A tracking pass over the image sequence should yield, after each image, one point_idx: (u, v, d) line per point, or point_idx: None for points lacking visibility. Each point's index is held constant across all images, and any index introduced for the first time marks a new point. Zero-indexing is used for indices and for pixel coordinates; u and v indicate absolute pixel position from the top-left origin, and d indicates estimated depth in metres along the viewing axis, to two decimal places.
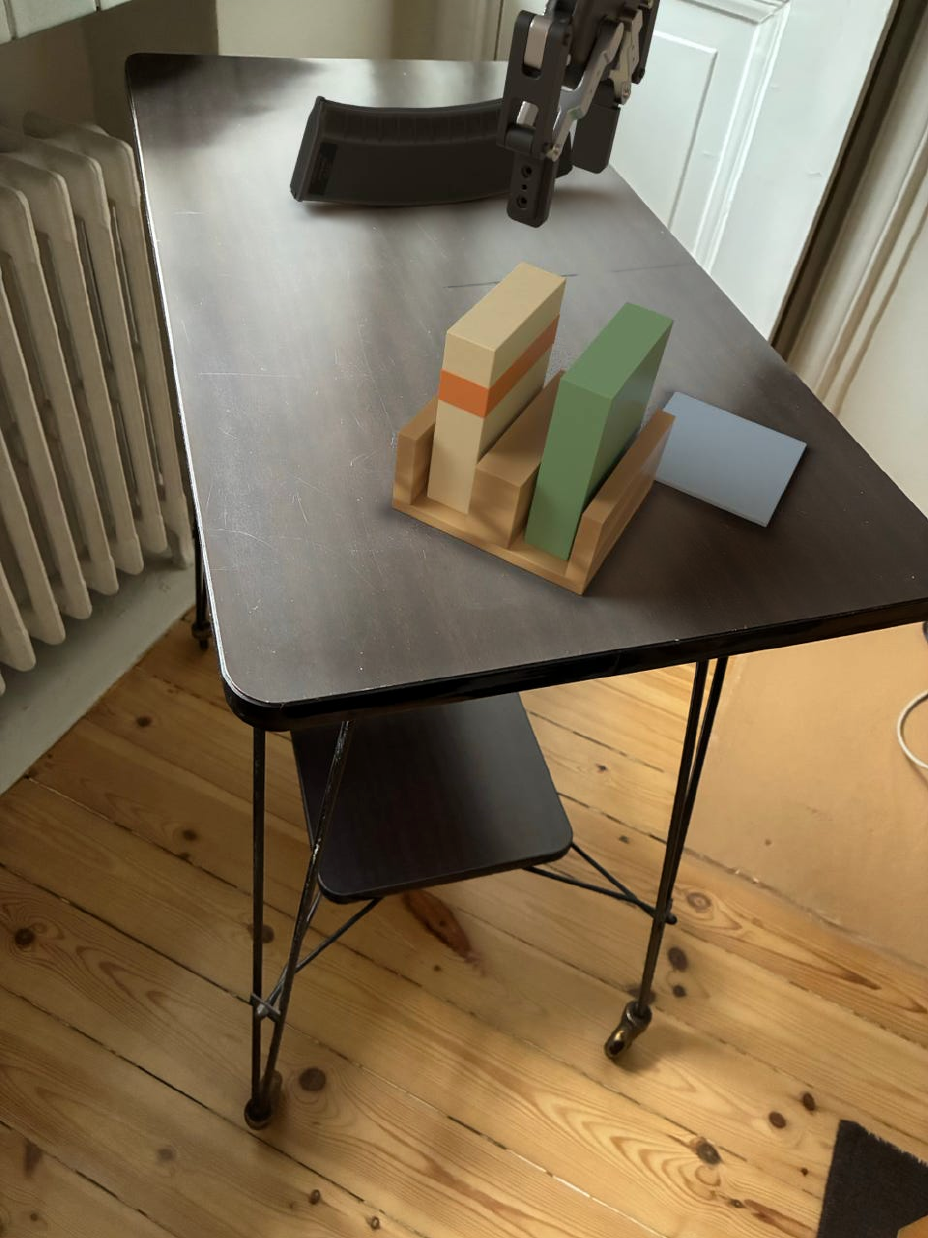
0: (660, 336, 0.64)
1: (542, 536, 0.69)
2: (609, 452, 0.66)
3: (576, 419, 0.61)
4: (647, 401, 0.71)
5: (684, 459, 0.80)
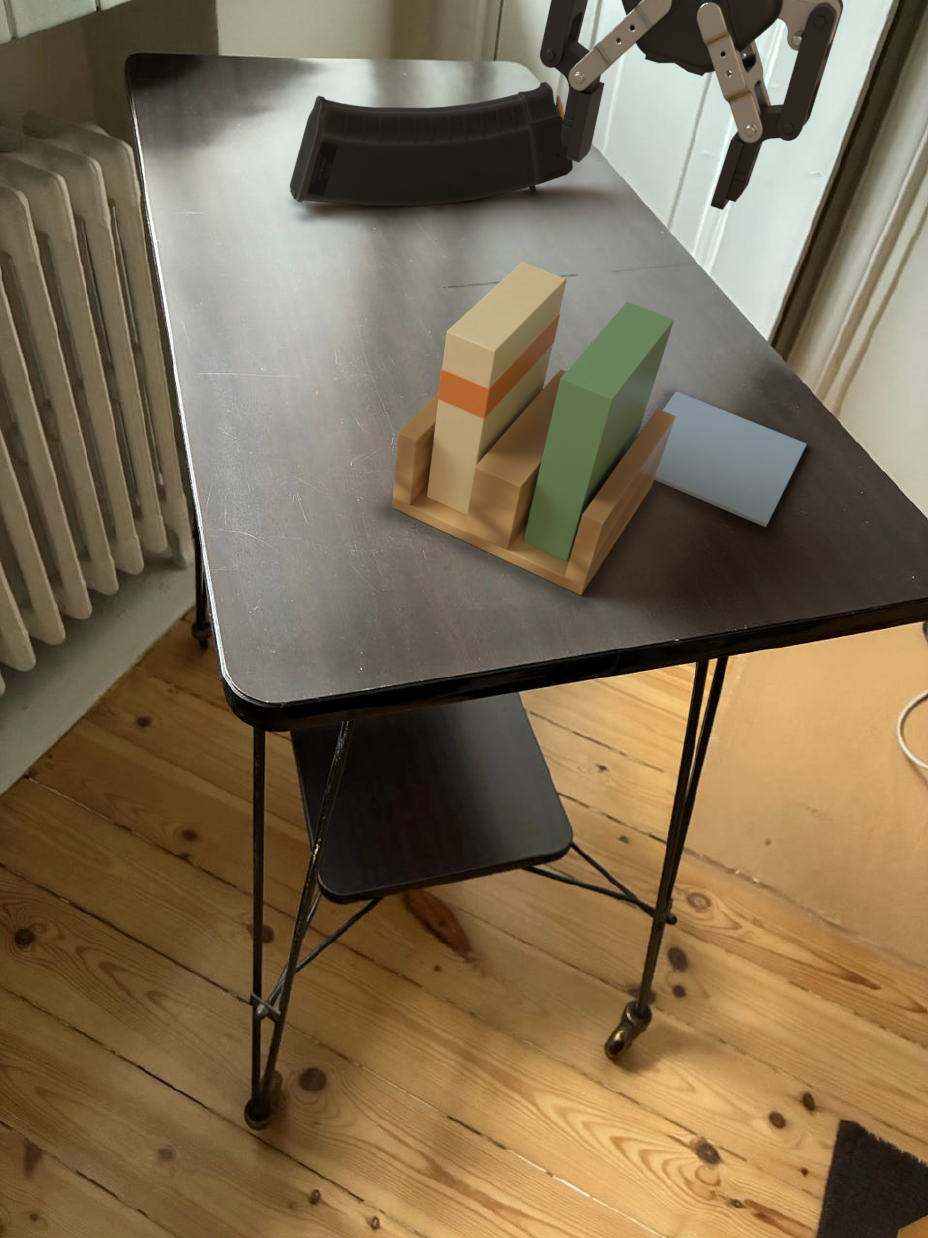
0: (660, 336, 0.64)
1: (542, 536, 0.69)
2: (609, 452, 0.66)
3: (576, 419, 0.61)
4: (647, 401, 0.71)
5: (684, 459, 0.80)
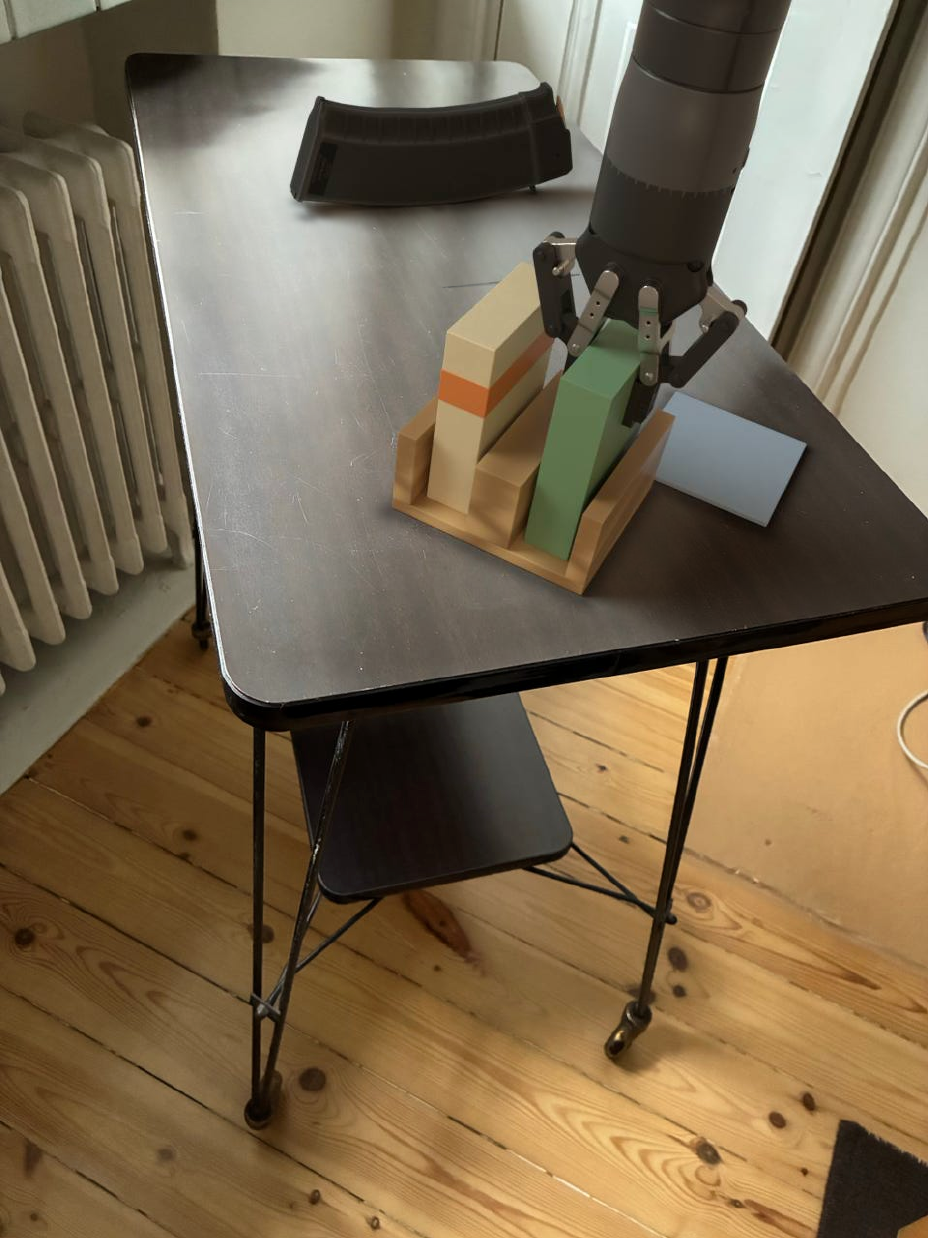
0: None
1: (542, 536, 0.69)
2: (609, 452, 0.66)
3: (576, 419, 0.61)
4: None
5: (684, 459, 0.80)
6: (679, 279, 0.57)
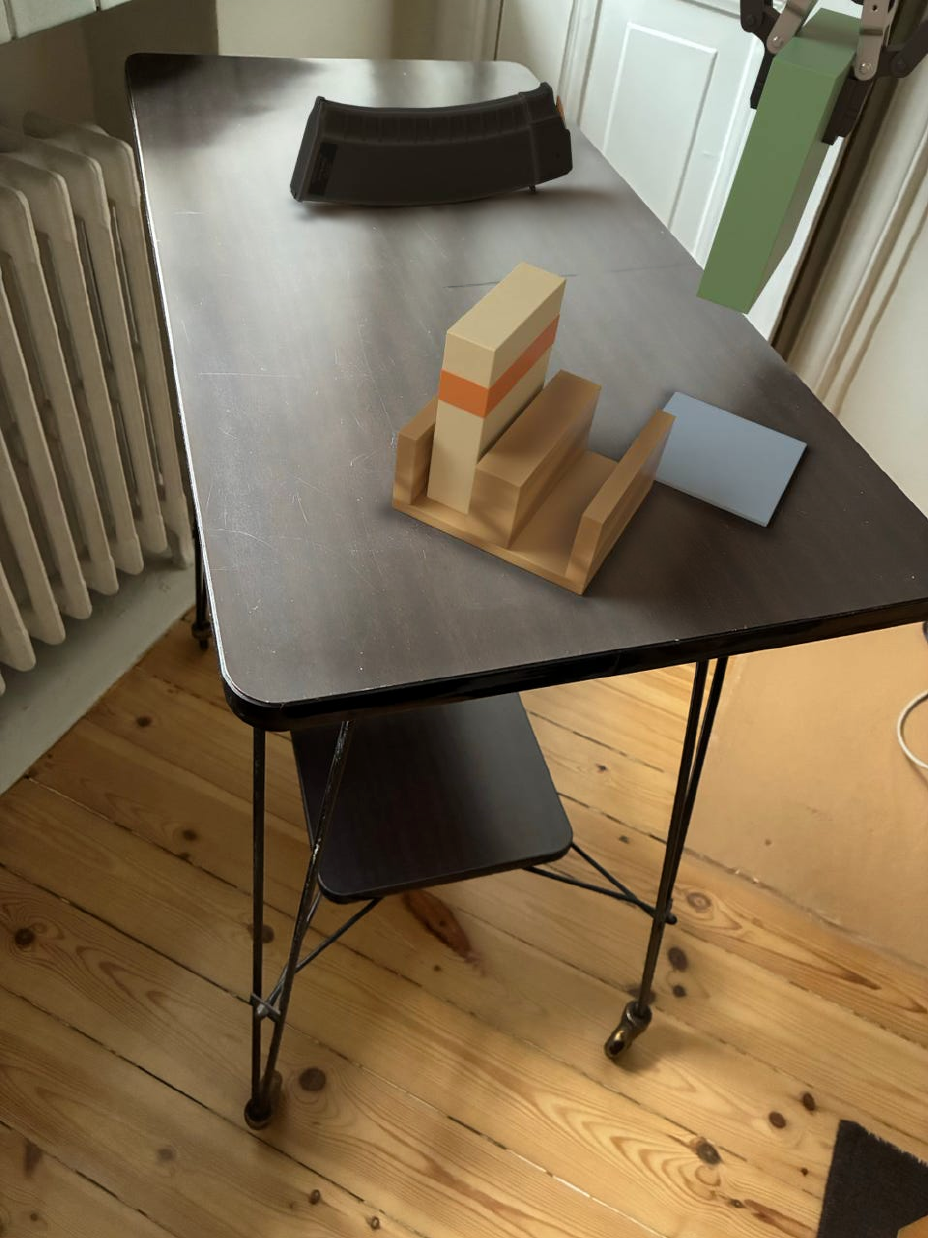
0: None
1: (720, 285, 0.61)
2: (806, 174, 0.58)
3: (786, 113, 0.53)
4: None
5: (684, 459, 0.80)
6: None
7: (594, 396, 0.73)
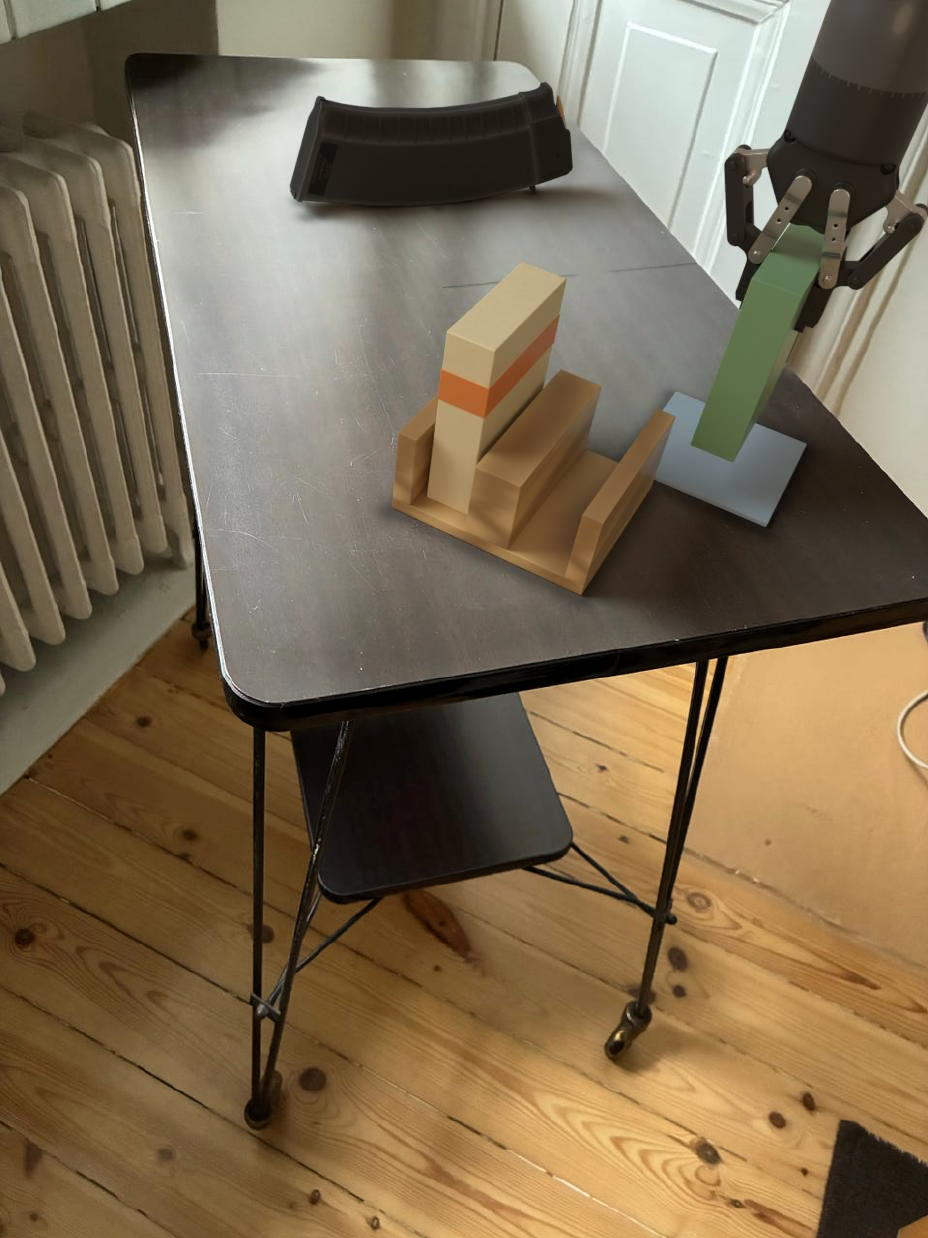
0: None
1: (711, 438, 0.74)
2: (781, 355, 0.71)
3: (762, 318, 0.66)
4: None
5: (684, 459, 0.80)
6: (870, 182, 0.62)
7: (594, 396, 0.73)
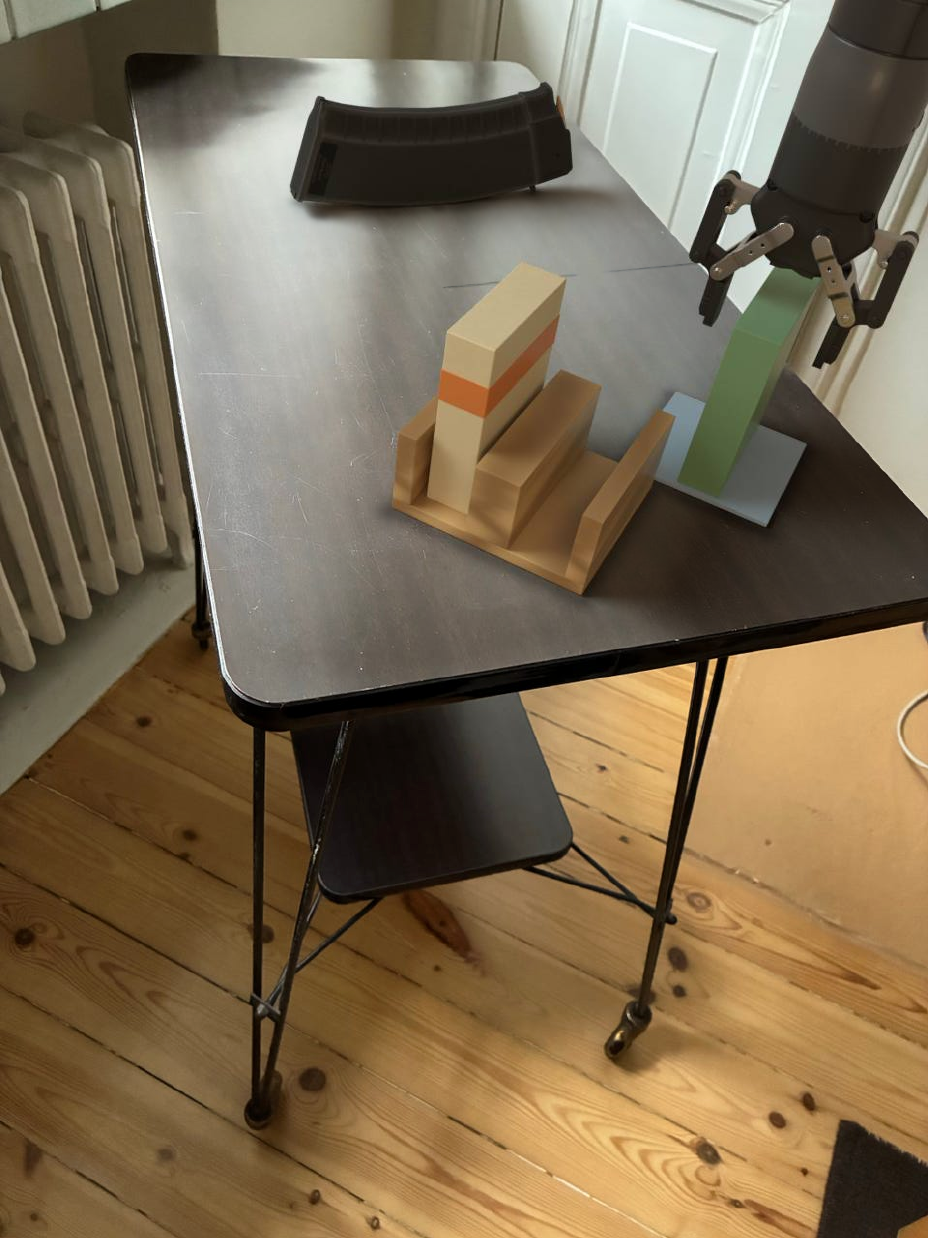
0: (812, 292, 0.72)
1: (696, 476, 0.77)
2: (763, 397, 0.73)
3: (744, 364, 0.69)
4: (788, 354, 0.78)
5: (684, 459, 0.80)
6: (850, 229, 0.64)
7: (594, 396, 0.73)
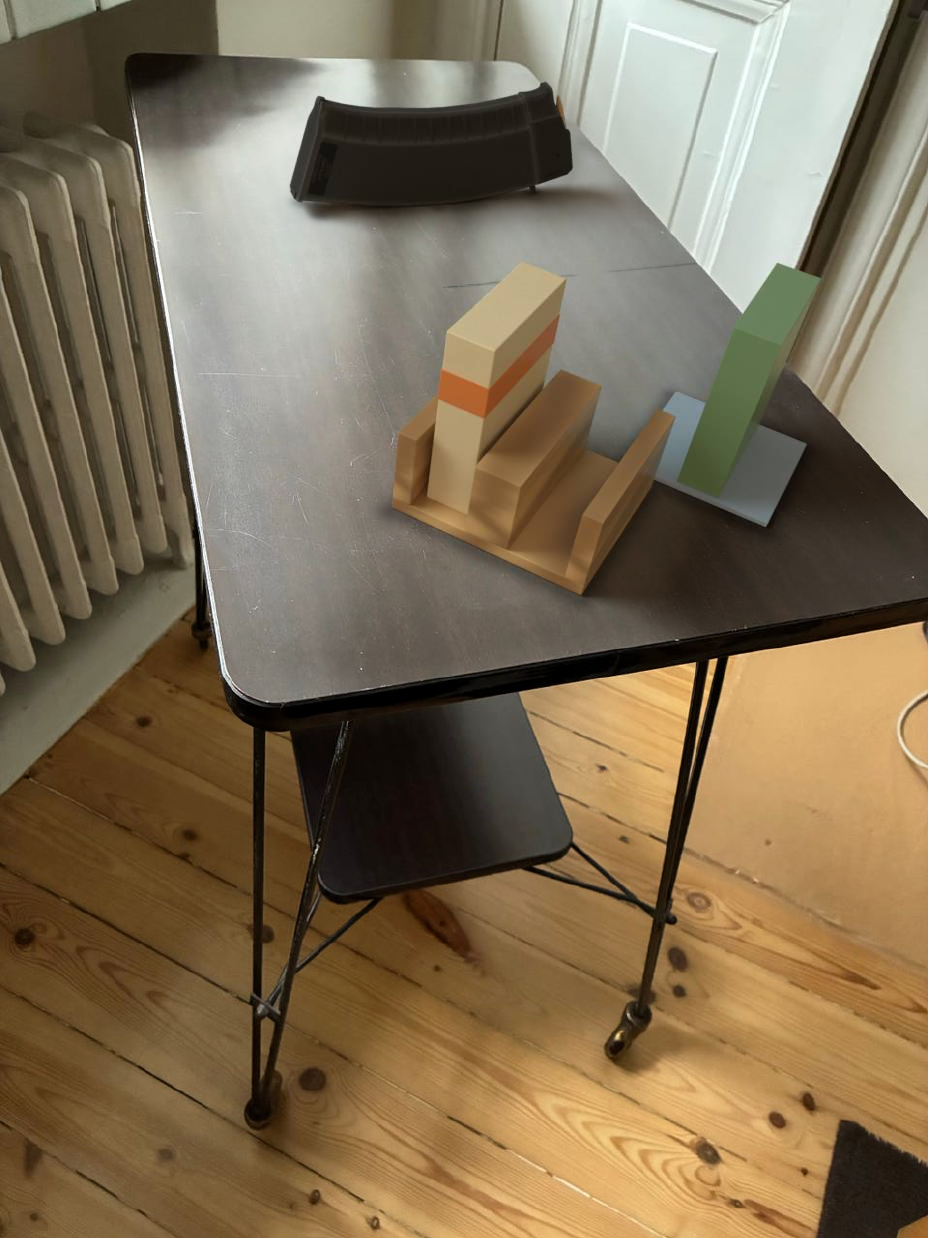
0: (812, 292, 0.72)
1: (696, 476, 0.77)
2: (763, 397, 0.73)
3: (744, 364, 0.69)
4: (788, 354, 0.78)
5: (684, 459, 0.80)
6: None
7: (594, 396, 0.73)
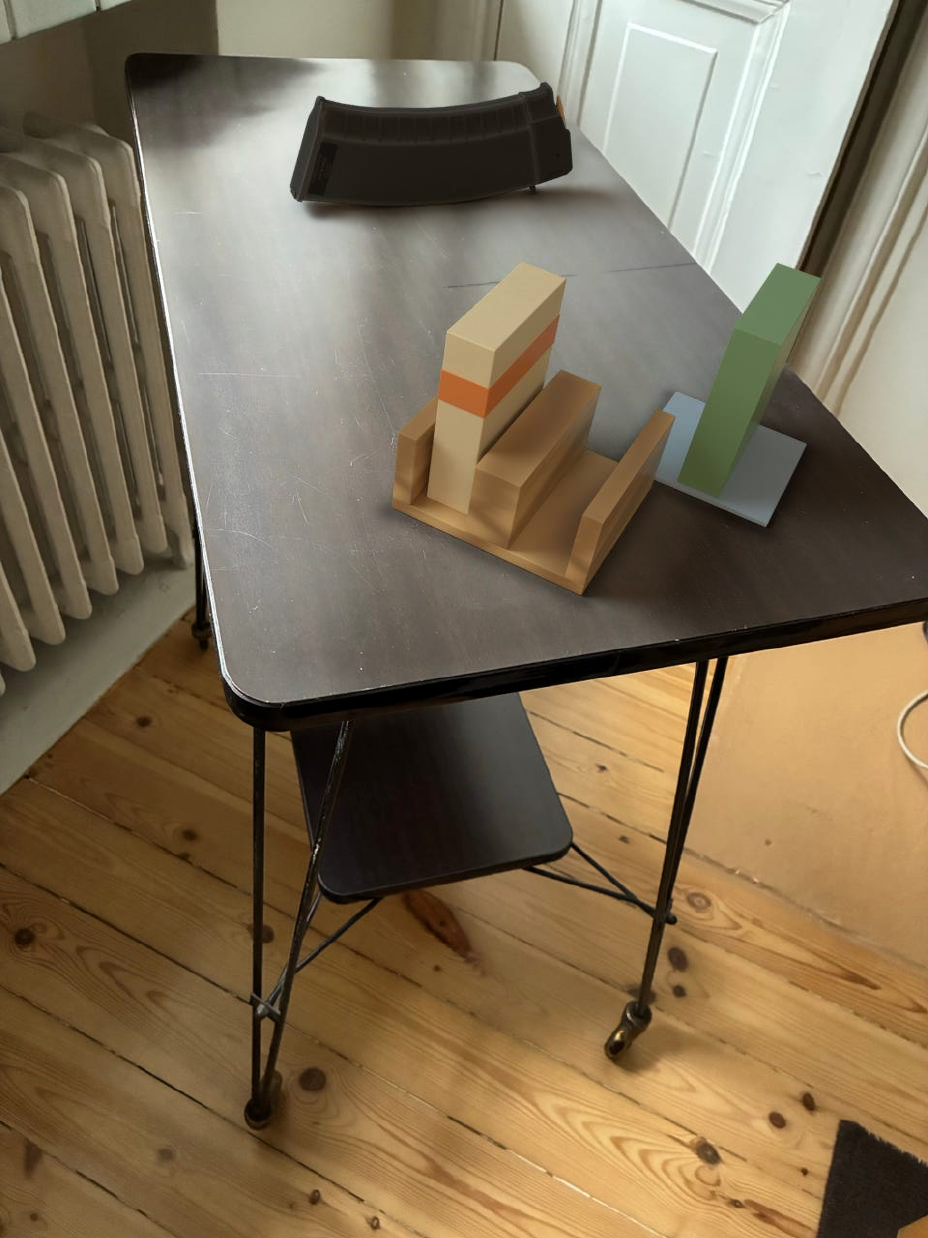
0: (812, 292, 0.72)
1: (696, 476, 0.77)
2: (763, 397, 0.73)
3: (744, 364, 0.69)
4: (788, 354, 0.78)
5: (684, 459, 0.80)
6: None
7: (594, 396, 0.73)
